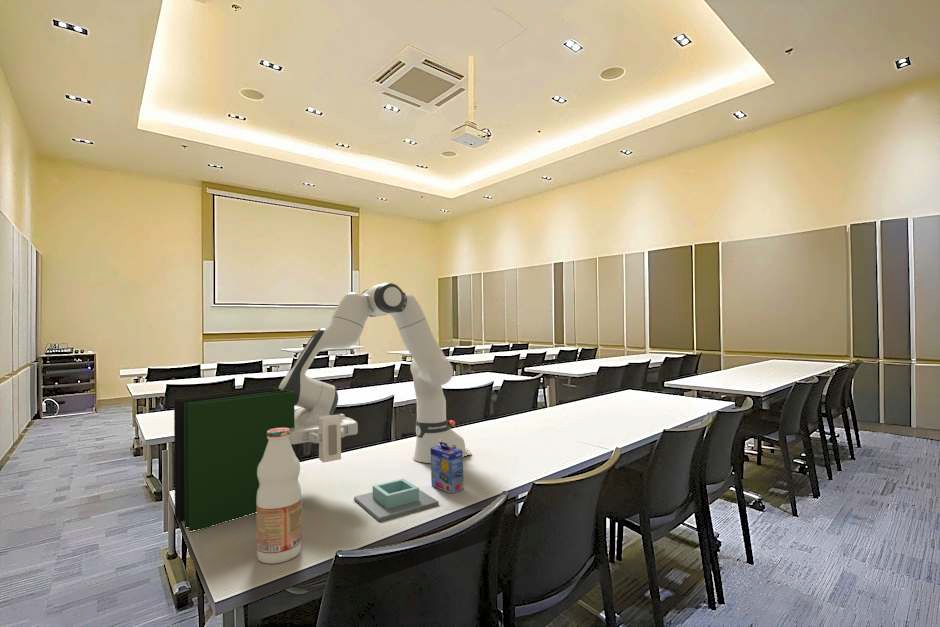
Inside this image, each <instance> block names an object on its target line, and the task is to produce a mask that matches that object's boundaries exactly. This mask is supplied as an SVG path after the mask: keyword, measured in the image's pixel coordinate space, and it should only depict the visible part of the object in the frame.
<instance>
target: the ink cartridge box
mask: <svg viewBox="0 0 940 627" xmlns="http://www.w3.org/2000/svg"><path fill="white" fill-rule="evenodd" d="M439 443H440V445H439V446H435V447H432V448H431V463H430V475H431V478H430V480H431V483H430V484H431V487H434V488H436V487H437V488H436V489H439V490H442V491H443V490H444V491H443V492H446V493H448V492H449V494H454V493H457V492H460V491H462V489H463V490H464V489H465V486H464V484H465V482H464V460H463V459H464V458H463V455H462V450H460V449H456V448H452V447H450V446H448V445H447V444H446V443H443V442H439ZM442 444H444V445H442ZM459 490H460V491H459Z"/></svg>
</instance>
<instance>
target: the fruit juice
mask: <svg viewBox="0 0 940 627" xmlns="http://www.w3.org/2000/svg"><path fill="white" fill-rule="evenodd" d="M289 436H290V429H289V428H274V429H270V430H268V431H267V439H268V443H267V446H266V449H265V452H264V455H263V458H262V460H261V462H260V463H259V465H258V468H257V477H258V481H259V488H258V490H257V497H256V510H257V513H256V557H257V560H258V561H259V562H260V563H263V564H270V565H271V564H273V565H275V564H280V563H285V562H287V561H290V560H293V559H294V558H295V557H297V556H298V555H299V554H300V553H301V550H302V545H303V544H302V541H303V540H302V537H303V532H302V530H303V529H302V487H301V484H300V481H299V476H300V472H301V464H300V463H301V461H300V460H299V458H298V457H297V455H296V452H295V453H294V451H293V448H292V446H291V443H290V441H289Z"/></svg>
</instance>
